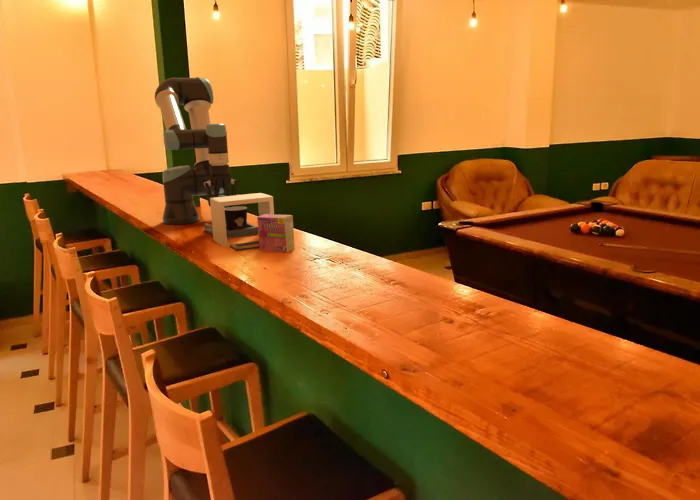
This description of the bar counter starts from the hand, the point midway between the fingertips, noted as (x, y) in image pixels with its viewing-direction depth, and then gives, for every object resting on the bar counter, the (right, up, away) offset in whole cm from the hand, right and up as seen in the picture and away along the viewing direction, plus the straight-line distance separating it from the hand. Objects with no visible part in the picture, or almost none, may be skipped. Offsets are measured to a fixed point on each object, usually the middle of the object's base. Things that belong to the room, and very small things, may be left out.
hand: (224, 223), depth 223 cm
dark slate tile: (+18, -9, -30) cm, 36 cm away
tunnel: (+12, -7, -20) cm, 25 cm away
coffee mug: (+6, -5, -11) cm, 14 cm away
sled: (+4, -4, -7) cm, 9 cm away
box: (+26, -11, -36) cm, 45 cm away
